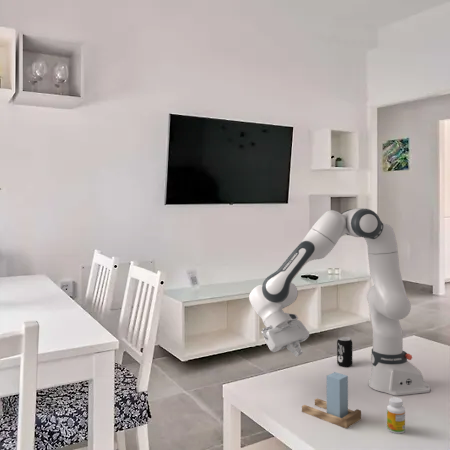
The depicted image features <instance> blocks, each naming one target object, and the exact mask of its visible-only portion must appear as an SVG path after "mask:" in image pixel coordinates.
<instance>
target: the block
mask: <svg viewBox="0 0 450 450" xmlns="http://www.w3.org/2000/svg"><path fill="white" fill-rule="evenodd" d="M326 402H327V409H326V413H329V414H331V415H334V416H337V417H340V418H343V417H345V416H346V415H348V409H349V376H348V374H347V375H346V374H343V373H339V372H336V371H333V372H332V373H330V374H327V375H326Z"/></svg>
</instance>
